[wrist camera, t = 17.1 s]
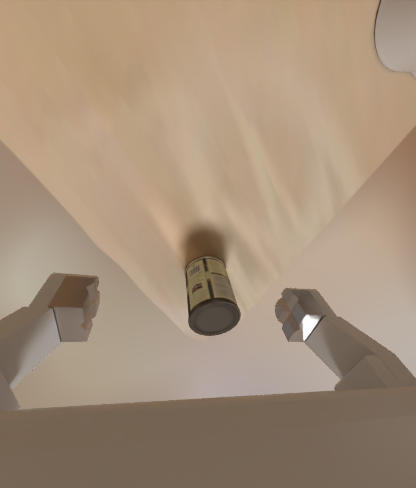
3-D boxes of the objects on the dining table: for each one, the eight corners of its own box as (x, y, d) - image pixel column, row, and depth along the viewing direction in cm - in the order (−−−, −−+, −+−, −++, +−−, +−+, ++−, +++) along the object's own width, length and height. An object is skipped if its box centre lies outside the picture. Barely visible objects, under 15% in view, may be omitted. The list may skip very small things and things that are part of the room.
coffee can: (214, 291, 59) (224, 339, 47) (178, 281, 55) (180, 331, 44) (233, 262, 54) (250, 308, 43) (195, 250, 50) (202, 296, 39)
